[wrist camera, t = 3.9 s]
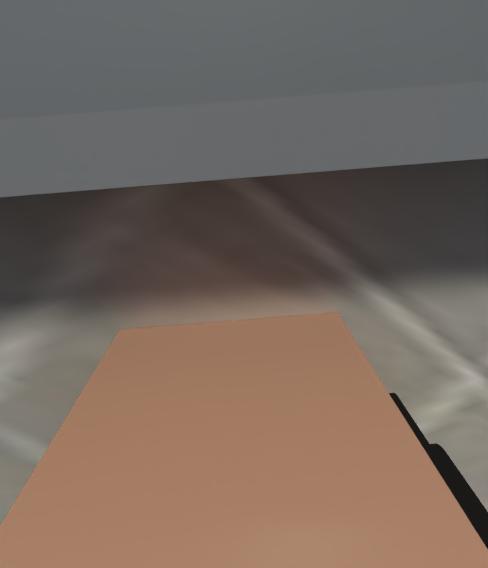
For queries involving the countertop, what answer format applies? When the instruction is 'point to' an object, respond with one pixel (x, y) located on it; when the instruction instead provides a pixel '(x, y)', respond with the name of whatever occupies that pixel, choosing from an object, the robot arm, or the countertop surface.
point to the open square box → (237, 460)
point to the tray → (235, 89)
